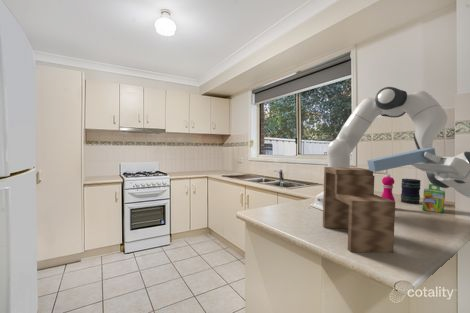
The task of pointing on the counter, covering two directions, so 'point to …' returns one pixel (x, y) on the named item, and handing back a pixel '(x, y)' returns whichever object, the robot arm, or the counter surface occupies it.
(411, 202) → the storage jar
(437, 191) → the chalk box
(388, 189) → the pepper mill
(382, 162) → the beam
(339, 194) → the step shelf
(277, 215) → the counter surface
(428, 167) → the robot arm
